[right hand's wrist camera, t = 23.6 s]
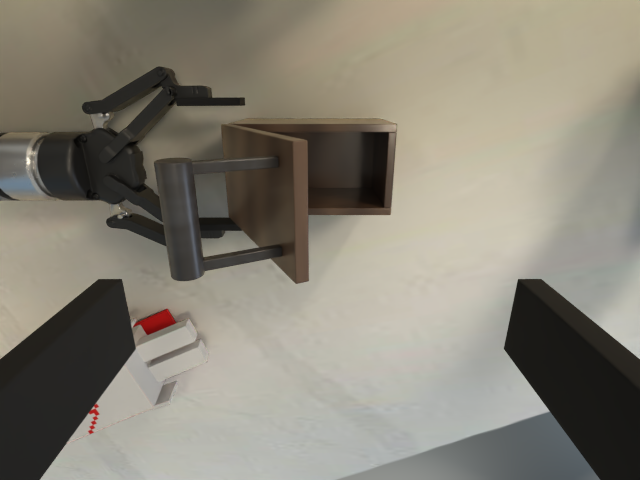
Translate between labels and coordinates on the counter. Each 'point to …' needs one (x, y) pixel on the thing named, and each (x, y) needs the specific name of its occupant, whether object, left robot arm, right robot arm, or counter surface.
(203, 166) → the lid
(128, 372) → the toy
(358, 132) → the chest
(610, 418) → the right robot arm
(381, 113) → the counter surface
